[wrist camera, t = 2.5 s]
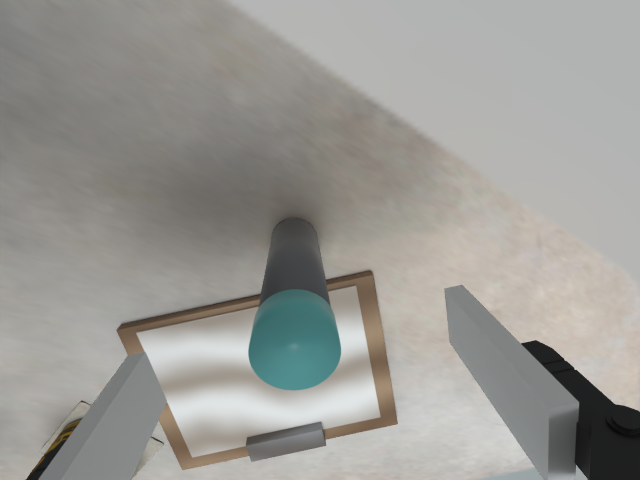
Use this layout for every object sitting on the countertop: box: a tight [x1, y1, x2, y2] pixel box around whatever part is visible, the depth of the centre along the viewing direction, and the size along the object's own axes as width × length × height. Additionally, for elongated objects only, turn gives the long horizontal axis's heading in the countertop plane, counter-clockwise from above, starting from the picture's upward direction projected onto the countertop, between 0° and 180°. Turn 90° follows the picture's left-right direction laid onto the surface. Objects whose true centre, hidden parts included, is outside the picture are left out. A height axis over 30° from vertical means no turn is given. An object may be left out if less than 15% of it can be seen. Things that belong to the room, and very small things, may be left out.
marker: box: [248, 218, 341, 391], centre depth 21 cm, size 4×4×14 cm
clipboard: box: [117, 271, 398, 470], centre depth 31 cm, size 16×21×2 cm
